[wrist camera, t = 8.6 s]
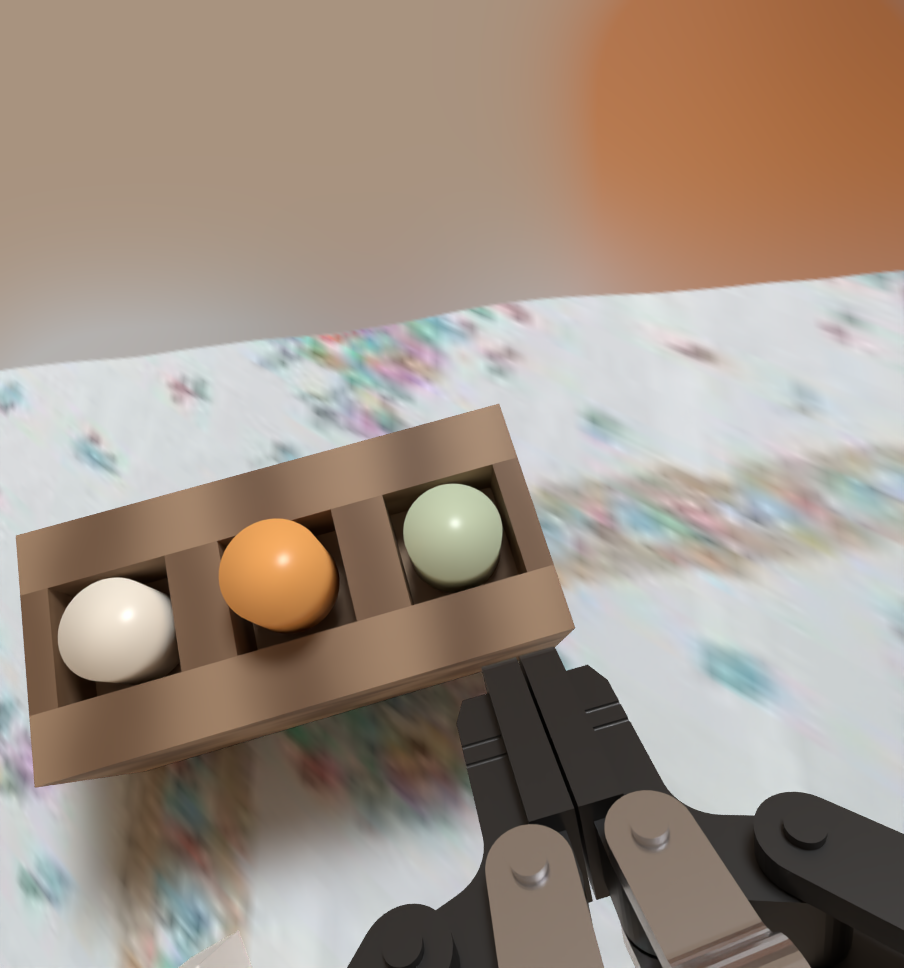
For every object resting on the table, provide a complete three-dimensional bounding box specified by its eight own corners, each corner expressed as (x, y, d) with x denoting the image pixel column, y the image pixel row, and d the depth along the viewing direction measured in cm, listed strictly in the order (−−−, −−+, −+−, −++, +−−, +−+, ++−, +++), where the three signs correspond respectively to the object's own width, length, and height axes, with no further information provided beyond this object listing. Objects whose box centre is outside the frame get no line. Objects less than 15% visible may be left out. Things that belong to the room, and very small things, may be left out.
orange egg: (328, 527, 30) (312, 506, 27) (349, 617, 28) (335, 606, 25) (236, 552, 29) (210, 534, 26) (253, 645, 28) (228, 637, 25)
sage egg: (485, 494, 31) (486, 472, 29) (511, 578, 30) (515, 563, 27) (400, 518, 31) (392, 498, 28) (423, 604, 30) (417, 591, 27)
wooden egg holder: (493, 474, 39) (498, 403, 30) (551, 650, 35) (575, 627, 27) (120, 578, 37) (15, 535, 29) (144, 771, 34) (34, 787, 26)
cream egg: (182, 580, 31) (152, 565, 28) (196, 669, 29) (166, 664, 27) (92, 605, 30) (53, 593, 28) (102, 696, 29) (62, 694, 26)
